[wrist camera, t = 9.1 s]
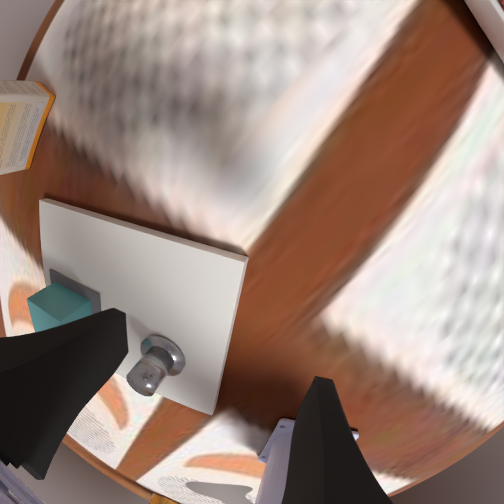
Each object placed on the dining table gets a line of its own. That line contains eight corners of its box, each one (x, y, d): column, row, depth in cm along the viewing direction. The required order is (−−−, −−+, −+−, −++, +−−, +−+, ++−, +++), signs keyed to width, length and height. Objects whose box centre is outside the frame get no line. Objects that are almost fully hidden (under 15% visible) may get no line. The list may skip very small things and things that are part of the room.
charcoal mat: (106, 352, 23) (105, 354, 23) (60, 325, 24) (58, 326, 24) (100, 293, 21) (97, 294, 21) (51, 268, 22) (49, 269, 22)
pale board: (215, 408, 24) (212, 415, 23) (61, 332, 26) (56, 336, 25) (248, 257, 18) (244, 262, 17) (47, 198, 21) (39, 200, 20)
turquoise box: (95, 342, 23) (71, 365, 19) (62, 322, 24) (37, 341, 20) (90, 300, 21) (60, 321, 17) (56, 281, 22) (26, 298, 18)
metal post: (184, 378, 22) (164, 410, 18) (143, 361, 22) (120, 389, 19) (187, 345, 20) (163, 378, 17) (142, 327, 21) (115, 355, 17)
